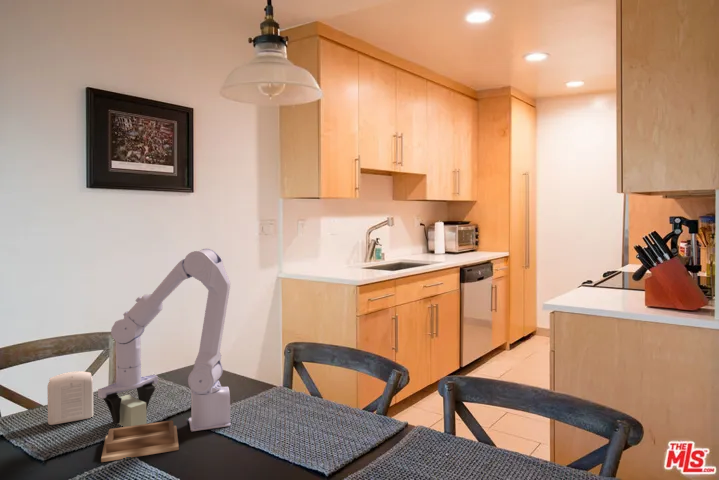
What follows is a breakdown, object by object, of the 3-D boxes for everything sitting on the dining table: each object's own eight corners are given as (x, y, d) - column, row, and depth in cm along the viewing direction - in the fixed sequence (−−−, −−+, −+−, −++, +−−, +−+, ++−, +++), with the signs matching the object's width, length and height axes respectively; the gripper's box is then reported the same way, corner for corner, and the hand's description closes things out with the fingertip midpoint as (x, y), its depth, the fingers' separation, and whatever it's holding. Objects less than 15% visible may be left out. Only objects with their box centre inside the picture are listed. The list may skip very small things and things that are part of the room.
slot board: (176, 428, 126) (176, 417, 126) (178, 449, 115) (178, 437, 115) (106, 438, 120) (105, 427, 120) (101, 462, 109) (100, 449, 109)
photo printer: (92, 412, 136) (91, 367, 135) (94, 418, 132) (93, 371, 132) (47, 421, 130) (46, 373, 129) (48, 427, 127) (46, 378, 126)
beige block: (128, 417, 133) (127, 394, 133) (146, 426, 128) (146, 402, 127) (113, 422, 130) (112, 399, 130) (131, 431, 125) (130, 407, 124)
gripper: (147, 355, 136) (148, 405, 137) (91, 368, 125) (92, 423, 126) (161, 360, 132) (162, 412, 133) (105, 374, 121) (106, 430, 121)
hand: (129, 418), depth 129 cm, fingers open, 6 cm apart
